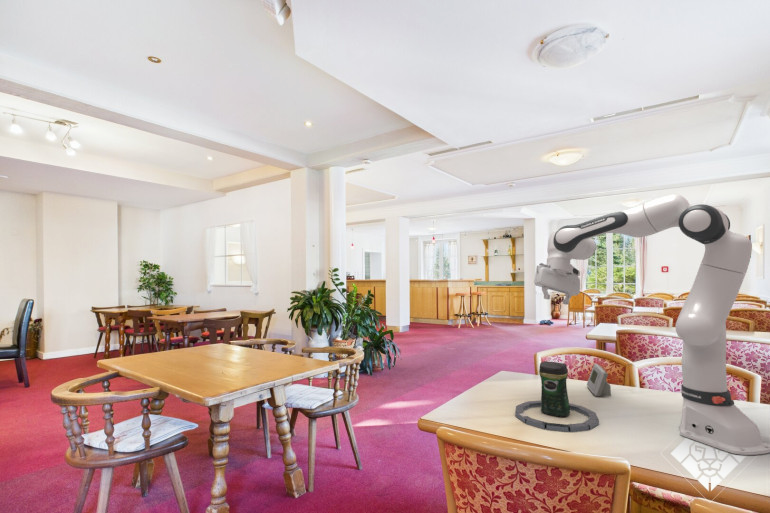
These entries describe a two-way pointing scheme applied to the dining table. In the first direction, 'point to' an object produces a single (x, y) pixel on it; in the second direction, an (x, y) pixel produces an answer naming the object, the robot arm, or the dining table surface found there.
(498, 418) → the dining table surface
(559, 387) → the coffee jar
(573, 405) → the grey segmented ring
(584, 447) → the dining table surface
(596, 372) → the digital clock
